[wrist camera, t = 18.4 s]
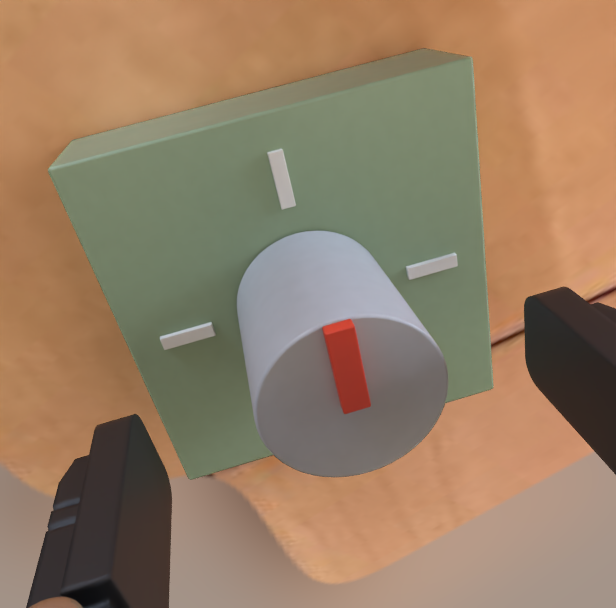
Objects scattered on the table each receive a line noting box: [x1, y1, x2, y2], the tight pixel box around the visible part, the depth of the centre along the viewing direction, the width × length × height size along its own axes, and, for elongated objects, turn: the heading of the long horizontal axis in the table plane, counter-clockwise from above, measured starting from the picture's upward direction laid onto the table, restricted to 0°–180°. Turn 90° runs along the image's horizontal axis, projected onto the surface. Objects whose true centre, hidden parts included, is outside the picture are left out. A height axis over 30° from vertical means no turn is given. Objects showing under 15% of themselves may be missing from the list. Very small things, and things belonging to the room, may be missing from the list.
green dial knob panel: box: [48, 48, 493, 480], centre depth 16 cm, size 10×10×3 cm
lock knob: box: [237, 231, 448, 477], centre depth 13 cm, size 4×4×5 cm
